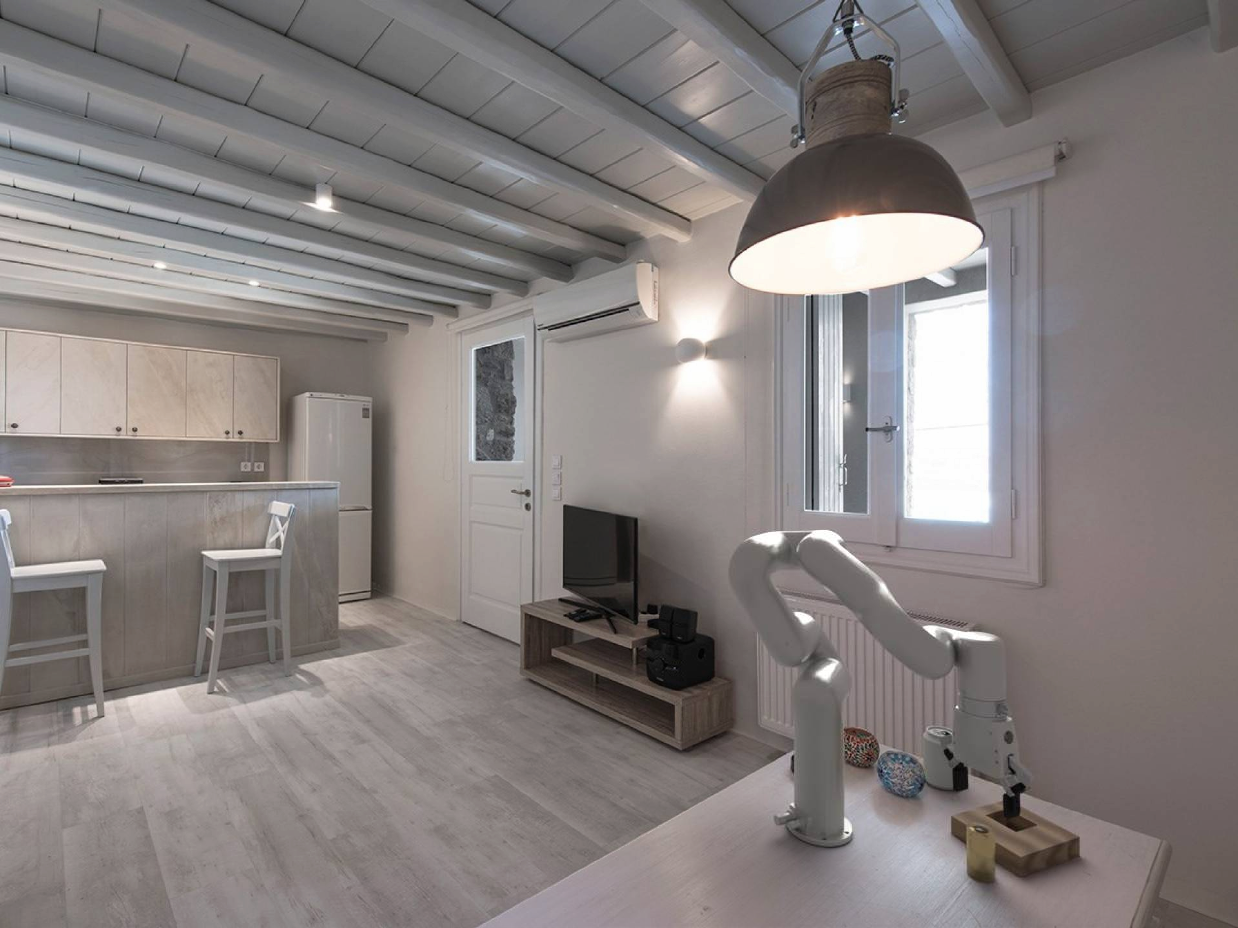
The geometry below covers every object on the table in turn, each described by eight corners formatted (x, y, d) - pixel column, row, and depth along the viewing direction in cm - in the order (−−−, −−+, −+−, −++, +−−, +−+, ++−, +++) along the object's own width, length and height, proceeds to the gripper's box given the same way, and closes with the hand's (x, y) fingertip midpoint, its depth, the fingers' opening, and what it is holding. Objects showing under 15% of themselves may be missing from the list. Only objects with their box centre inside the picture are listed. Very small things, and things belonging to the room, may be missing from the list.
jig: (1020, 876, 109) (1020, 856, 109) (951, 833, 122) (951, 815, 122) (1079, 855, 115) (1079, 836, 115) (1007, 816, 128) (1007, 799, 128)
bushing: (983, 885, 107) (983, 838, 107) (960, 870, 111) (960, 825, 111) (1001, 879, 108) (1001, 833, 108) (978, 864, 112) (978, 819, 112)
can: (965, 793, 137) (964, 738, 137) (928, 789, 139) (928, 735, 139) (953, 776, 144) (953, 725, 144) (919, 773, 146) (919, 722, 146)
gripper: (1045, 718, 103) (1049, 822, 103) (954, 686, 119) (957, 776, 119) (1014, 726, 100) (1018, 833, 100) (925, 692, 116) (928, 785, 116)
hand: (985, 802), depth 109 cm, fingers open, 9 cm apart
